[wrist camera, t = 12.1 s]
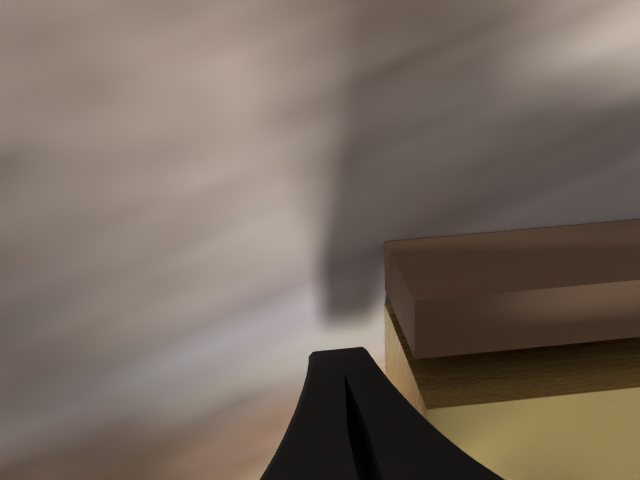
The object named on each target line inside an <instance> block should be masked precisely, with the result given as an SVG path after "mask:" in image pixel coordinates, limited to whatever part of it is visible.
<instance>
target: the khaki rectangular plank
mask: <svg viewBox="0 0 640 480" xmlns="http://www.w3.org/2000/svg"><path fill="white" fill-rule="evenodd" d="M385 350H386V377H387V378H388V379H389V380H390V381H391V383H392V384H393V385H394V386H395V387H396V388H397V389H398V391H399V392H400V393H401V394H402V395H403V396H404V397H405V398H406V399H407V400H408V402H409V403H410V404H411V405H412V406H413V407H414V408H415V409H416V410H417V411H418V412H419V413H420V414H421V415H422V416H423V417H424V418H425V419H427V420H428V421H429V422H430V423H431V424H432V425H433V426H434V427H435V428H436V429H437V430H438V431H440V432H441V433H442V434H443V435H444V436H445V437H446V438H448V439H449V440H450V441H451V442H453V443H454V444H455V445H456V446H458V447H459V448H460V449H461V450H463V451H464V452H465V453H467V454H468V455H469V456H471V457H472V458H473V459H475V460H476V461H478V462H479V463H481V464H482V465H484V466H485V467H487V468H488V469H490V470H491V471H493V472H494V473H496V474H497V475H499V476H500V477H502V478H503V479H505V480H640V337H633V338H623V339H613V340H603V341H593V342H583V343H573V344H563V345H553V346H543V347H533V348H523V349H513V350H503V351H493V352H483V353H473V354H463V355H453V356H443V357H433V358H423V359H414V357H413V354H412V352H411V349H410V347H409V345H408V342H407V340H406V338H405V335H404V333H403V331H402V328H401V326H400V324H399V321H398V319H397V316H396V314H395V312H394V309H393V307H392V305H391V304H385Z"/></svg>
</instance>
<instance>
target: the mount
mask: <svg viewBox="0 0 640 480" xmlns="http://www.w3.org/2000/svg"><path fill="white" fill-rule="evenodd" d="M384 249H385V290H386V293H387V295H388V298H389V300H390V302H391V305H392V307H393V309H394V312H395V314H396V316H397V319H398V321H399V324H400V326H401V328H402V331H403V333H404V335H405V338H406V340H407V342H408V345H409V347H410V349H411V352H412V354H413V357H414V359H423V358H433V357H443V356H453V355H463V354H473V353H483V352H493V351H503V350H513V349H523V348H533V347H543V346H553V345H563V344H573V343H583V342H593V341H603V340H613V339H623V338H633V337H640V219H637V220H625V221H614V222H603V223H591V224H580V225H569V226H558V227H546V228H535V229H524V230H512V231H501V232H490V233H478V234H467V235H456V236H444V237H433V238H422V239H410V240H399V241H388V242H384Z"/></svg>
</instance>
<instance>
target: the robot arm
mask: <svg viewBox="0 0 640 480" xmlns="http://www.w3.org/2000/svg"><path fill="white" fill-rule="evenodd" d="M260 480H505V479H503V478H502V477H500V476H499V475H497V474H496V473H494V472H493V471H491V470H490V469H488V468H487V467H485V466H484V465H482V464H481V463H479V462H478V461H476V460H475V459H473V458H472V457H471V456H469V455H468V454H467V453H465V452H464V451H463V450H461V449H460V448H459V447H458V446H456V445H455V444H454V443H453V442H451V441H450V440H449V439H448V438H446V437H445V436H444V435H443V434H442V433H441V432H440V431H438V430H437V429H436V428H435V427H434V426H433V425H432V424H431V423H430V422H429V421H428V420H427V419H425V418H424V417H423V416H422V415H421V414H420V413H419V412H418V411H417V410H416V409H415V408H414V407H413V406H412V405H411V404H410V403H409V402H408V400H407V399H406V398H405V397H404V396H403V395H402V394H401V393H400V392H399V391H398V389H397V388H396V387H395V386H394V385H393V384H392V383H391V381H390V380H389V379H388V378H387V377H386V375H385V374H384V373H383V372H382V370H381V369H380V368H379V367H378V365H377V364H376V363H375V361H374V360H373V358H372V357H371V356H370V354H369V353H368V351H367V350H366V349H365V348H363V347H356V348H346V349H336V350H325V351H315V352H313V353H312V354H311V355H310V356H309V364H308V371H307V375H306V379H305V383H304V387H303V390H302V393H301V396H300V398H299V401H298V404H297V407H296V410H295V412H294V415H293V417H292V419H291V422H290V424H289V426H288V428H287V431H286V433H285V435H284V437H283V439H282V441H281V443H280V445H279V447H278V449H277V451H276V453H275V455H274V457H273V458H272V460H271V462H270V464H269V465H268V467H267V469H266V470H265V472H264V474H263V475H262V477H261V478H260Z"/></svg>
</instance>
